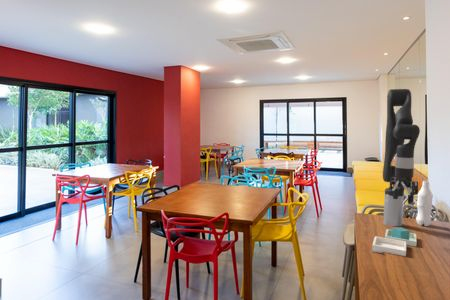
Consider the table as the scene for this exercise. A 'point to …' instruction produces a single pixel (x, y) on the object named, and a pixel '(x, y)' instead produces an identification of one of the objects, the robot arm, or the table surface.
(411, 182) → the robot arm
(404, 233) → the teal cube
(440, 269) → the table surface
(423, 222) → the water bottle
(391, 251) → the cream tray
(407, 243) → the sage tray
